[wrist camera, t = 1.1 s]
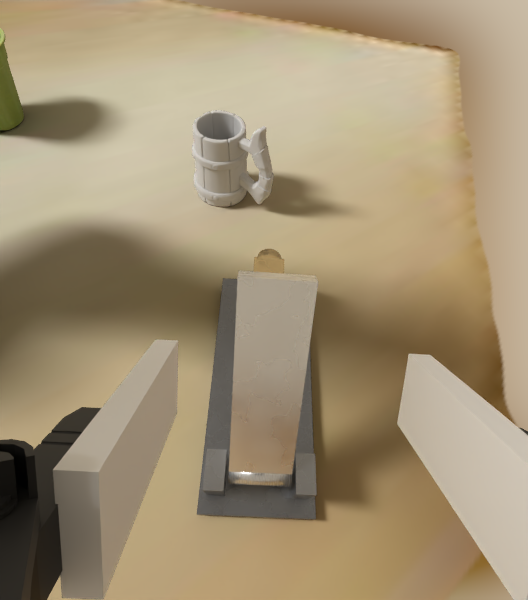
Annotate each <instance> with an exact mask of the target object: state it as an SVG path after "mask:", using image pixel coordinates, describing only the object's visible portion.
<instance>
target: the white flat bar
mask: <svg viewBox="0 0 528 600" xmlns="http://www.w3.org/2000/svg"><path fill="white" fill-rule="evenodd" d="M317 288H318V280H317V278H316V276H314V275H299V274H283V273H267V272H252V271H239V272H238V279H237V302H236V324H235V346H234V368H233V391H232V413H231V435H230V457H229V477H228V484H239V485H261V486H284V487H291V483H292V470H293V463H294V456H295V449H296V441H297V434H298V427H299V419H300V412H301V405H302V397H303V390H304V383H305V375H306V368H307V361H308V353H309V346H310V339H311V331H312V324H313V317H314V310H315V302H316V295H317Z"/></svg>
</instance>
